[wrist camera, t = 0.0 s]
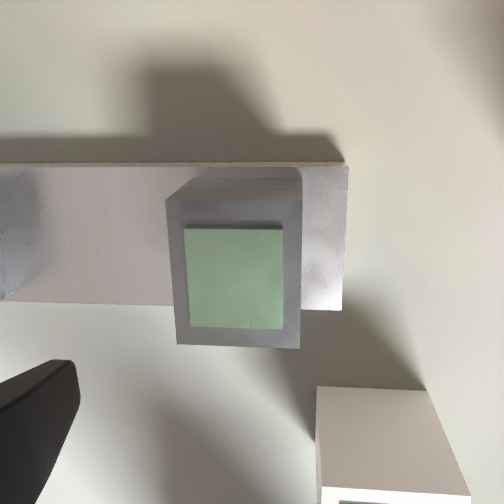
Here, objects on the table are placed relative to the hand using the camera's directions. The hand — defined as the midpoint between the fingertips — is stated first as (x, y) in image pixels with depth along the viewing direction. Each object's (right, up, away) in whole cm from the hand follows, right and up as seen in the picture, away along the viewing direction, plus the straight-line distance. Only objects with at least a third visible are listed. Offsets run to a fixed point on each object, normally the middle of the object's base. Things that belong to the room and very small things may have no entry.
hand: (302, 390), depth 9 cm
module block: (+6, -7, +18) cm, 20 cm away
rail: (-7, +4, +15) cm, 17 cm away
